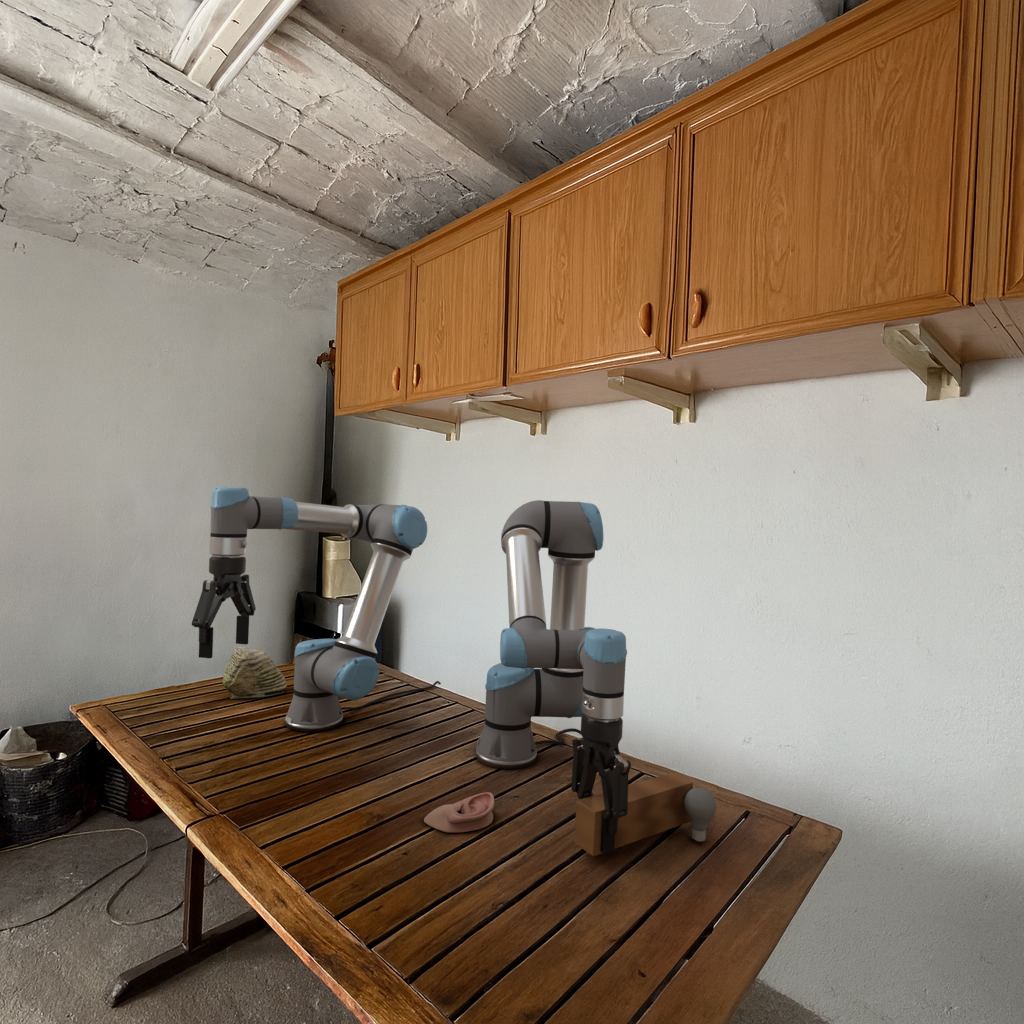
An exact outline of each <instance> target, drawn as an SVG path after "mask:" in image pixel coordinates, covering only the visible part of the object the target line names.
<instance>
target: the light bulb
mask: <svg viewBox="0 0 1024 1024" xmlns="http://www.w3.org/2000/svg"><path fill="white" fill-rule="evenodd" d="M684 804H685V809H686V811H687V813H688V815H689V818H690V822H689V823H690V826H691V838H692V839H693V840H695V841H696V842H704V841H706V839H707V837H706V835H707V830H708V828H709V823H710V821H712V819H713V818H714V816H715V815H716V812H717V807H718V805H717V801H716V798H715V797H714V795H713V794H712V792H711V791H710V790H708V789H706V788H705V787H694V788H693V789H691V790H690V791H689V792H688V793H687V794H686V796H685V799H684Z"/></svg>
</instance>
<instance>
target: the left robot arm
mask: <svg viewBox="0 0 1024 1024" xmlns="http://www.w3.org/2000/svg"><path fill="white" fill-rule="evenodd" d="M209 507H210V534H209V547H208V548H209V549H208V554H209V555H211V556H210V557H209V559H208V572H209V574H211V575H213V578H212V580H203V582H202V588H201V589H202V591H201V593H200V596H199V599H198V602H197V606H196V608H195V612H194V615H193V617H192V621H191V626H192V627H194V628H198V658H201V659H212V658H213V655H214V654H213V652H214V651H213V650H214V627H213V626H212V624H213V622H214V620H215V619H216V616H217V615H218V613H219V610H220V609H221V606H222V604H223V603H224V602H225V601H226V600H228V599H231V601H232V603H233V605H234V607H235V609H236V611H237V612H238V615H236V623H235V624H236V626H235V627H236V628H235V644H237V645H248V644H249V633H250V616H254V615H255V611H256V609H257V607H256V604H255V600H254V596H253V592H252V588H251V585H250V575H249V574H246V570H247V569H246V568H247V558H246V557H245V556H244V555H246V554H247V545H248V543H247V537H248V530H293V531H302V532H303V531H305V532H317V533H328V534H329V533H330V534H339V535H341V536H342V537H344V538H347V539H357V540H361V541H364V542H368V543H370V547H371V549H372V550H373V551H372V552H373V553H372V556H371V558H370V561H369V564H368V567H367V569H366V572H365V574H364V577H363V580H362V582H361V586H360V589H359V591H358V594H357V597H356V600H355V602H354V606H353V608H352V611H351V614H350V617H349V619H348V622H347V625H346V627H345V630H344V633H343V635H342V636H340V637H338V638H318V639H308V640H304V641H300V642H299V643H297V644H296V646H295V650H294V655H293V657H294V672H293V673H294V674H293V695H292V696H293V697H292V699H291V702H290V704H289V708H288V711H287V713H286V715H285V726H286V728H287V729H289V730H291V731H294V732H295V731H296V732H301V733H316V732H325V731H329V730H332V729H335V728H337V727H339V726H340V725H342V723H343V722H344V714H343V711H345V710H346V711H347V710H349V711H353V710H359V709H364V708H366V707H368V706H370V705H372V704H375V703H377V702H379V701H383V700H385V699H387V698H391V697H395V696H398V695H404V694H409V693H415V692H419V691H426V690H429V689H432V688H434V687H436V685H437V684H438V685H442V683H441V681H439V680H436V681H434V683H433V684H432V685H431V684H430V685H429V686H425V687H419V688H413V689H408V690H403V691H397V692H394V693H393V692H392V693H390V694H386V695H383V696H381V697H379V698H376V699H373V700H371V701H368V702H366V703H364V704H361V705H358V706H341V702H340V699H342V700H347V701H357V700H360V699H363V698H364V697H365V696H368V695H369V694H370V693H371V692H372V691H373V690H374V689H375V687H376V686H377V685H376V684H377V683H378V680H379V678H380V677H379V676H380V669H379V664H378V662H377V661H376V658H377V655H378V651H377V647H376V645H375V644H376V641H377V638H378V635H379V633H380V631H381V630H380V629H381V628H382V623H383V621H384V619H385V615H386V613H387V611H388V610H387V609H388V607H389V604H390V601H391V598H392V595H393V592H394V590H395V586H396V583H397V581H398V577H399V574H400V572H401V569H402V566H403V563H404V562H405V561H407V560H409V559H410V558H411V557H412V553H413V551H414V549H417V548H419V547H420V546H422V545H423V544H424V542H425V541H426V539H427V536H428V523H427V520H426V517H425V515H424V513H423V512H422V511H421V510H420V509H418V508H417V507H415V506H412V505H406V504H384V503H374V504H373V503H372V504H353V503H351V504H350V503H348V504H345V505H344V506H337V505H330V504H320V503H311V502H304V501H303V502H302V501H295V500H294V499H292V498H291V497H290V498H289V497H283V496H279V497H278V496H275V497H274V496H256V495H253V496H252V495H250V494H249V489H248V488H247V487H229V486H216V487H214V488H213V490H212V492H211V499H210V506H209Z"/></svg>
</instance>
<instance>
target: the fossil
mask: <svg viewBox="0 0 1024 1024" xmlns="http://www.w3.org/2000/svg"><path fill="white" fill-rule="evenodd" d="M222 676H223V677H222V685H223V687H224V688H225V690H226V691H228V693H229V698H230V699H250V698H264V697H271V696H275V695H281V694H284V693H285V691H286V689H287V687H288V686H287V680H286V678H285V676H284V674H283V673H282V672H281V669H279V668H278V667H277V665H276V663H275V662H274V660H273V659H272V658H271V657H270V656H269V655H268V654H267V653H266V652H265V650H264V649H263V648H260V647H258V648H251V647H247V646H246V647H245V646H238V647H237V648H236V649H235V650H233V651H232V653H231V656H230V657H229V659H228V660H227V663H226V666H225V668H224V671H223V675H222Z"/></svg>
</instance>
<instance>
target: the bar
mask: <svg viewBox="0 0 1024 1024" xmlns="http://www.w3.org/2000/svg"><path fill="white" fill-rule="evenodd" d="M693 786H694V782H693V781H692V780H689V779H687V778H685V777H684V776H682V775H679V774H677V773H675V772H670V773H667V774H662V775H659V776H657V777H653V778H649V779H645V780H642V781H639V782H636V783H631V784H628V810H627V815H625V816H622V817H619V818H618V825H617V833H616V834H615V846H614V849H613V850H616V849H618V848H621V847H624V846H626V845H629V844H631V843H635V842H637V841H640V840H643V839H645V838H648V837H652V836H654V835H657V834H660V833H662V832H665V831H668V830H671V829H673V828H676V827H680V826H682V825H685V824H687V823H691V822H690V818H689V815H688V813H687V811H686V809H685V804H684V799H685V796H686V794H687V793H688V792H689V791H690V790H691V789H693ZM575 803H576V804H575V806H576V807H575V825H574V844H575V845H576V846H578V847H579V848H581V849H582V850H584V852H586V853H587V854H589V855H590V856H592V857H595V856H599V855H602V854H603V853H602V852H601V851H600V847H601V824H602V814H605V806H604V798H603V792H601V793H597V794H594V796H590V797H587V798H583V799H580V800H579V799H577V800H576V802H575ZM612 809H613V808H612Z"/></svg>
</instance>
